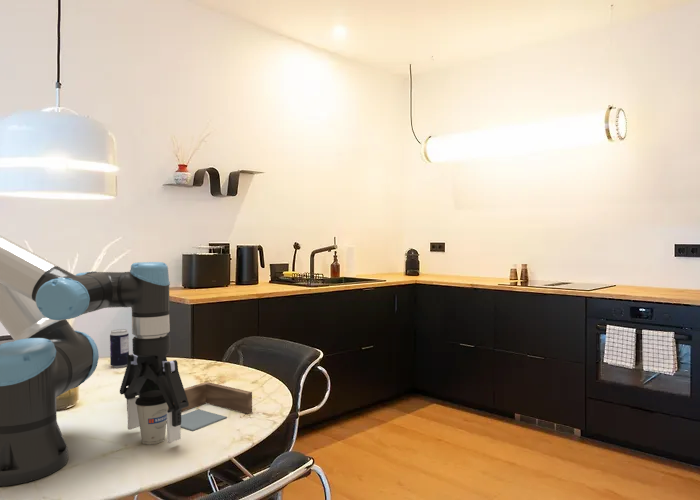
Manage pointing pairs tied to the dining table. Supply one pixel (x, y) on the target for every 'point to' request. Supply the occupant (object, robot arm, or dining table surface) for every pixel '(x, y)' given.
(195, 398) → the corner wall
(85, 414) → the dining table surface
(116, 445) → the dining table surface
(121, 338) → the beverage can
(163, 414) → the coffee cup
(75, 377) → the robot arm
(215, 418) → the pad
